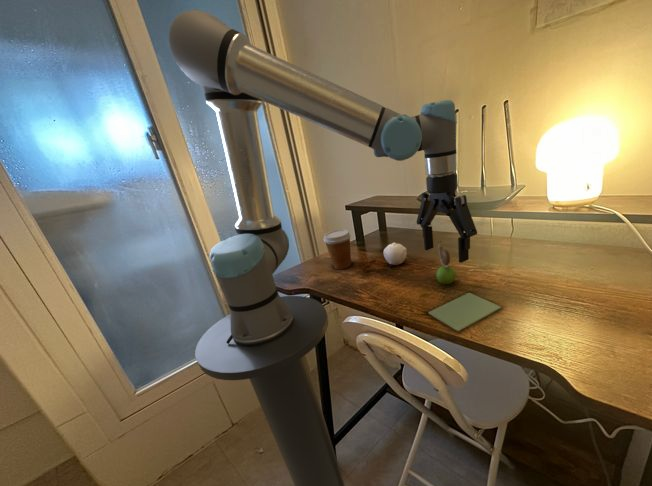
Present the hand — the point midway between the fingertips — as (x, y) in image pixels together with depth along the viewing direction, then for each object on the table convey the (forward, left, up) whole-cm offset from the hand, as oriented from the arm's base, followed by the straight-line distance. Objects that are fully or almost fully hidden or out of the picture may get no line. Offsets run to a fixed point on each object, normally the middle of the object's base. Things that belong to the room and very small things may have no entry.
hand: (445, 254), depth 83 cm
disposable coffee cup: (-16, +36, -9) cm, 41 cm away
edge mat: (-7, -14, -9) cm, 18 cm away
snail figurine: (0, 0, -9) cm, 9 cm away
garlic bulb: (-2, +22, -9) cm, 24 cm away
